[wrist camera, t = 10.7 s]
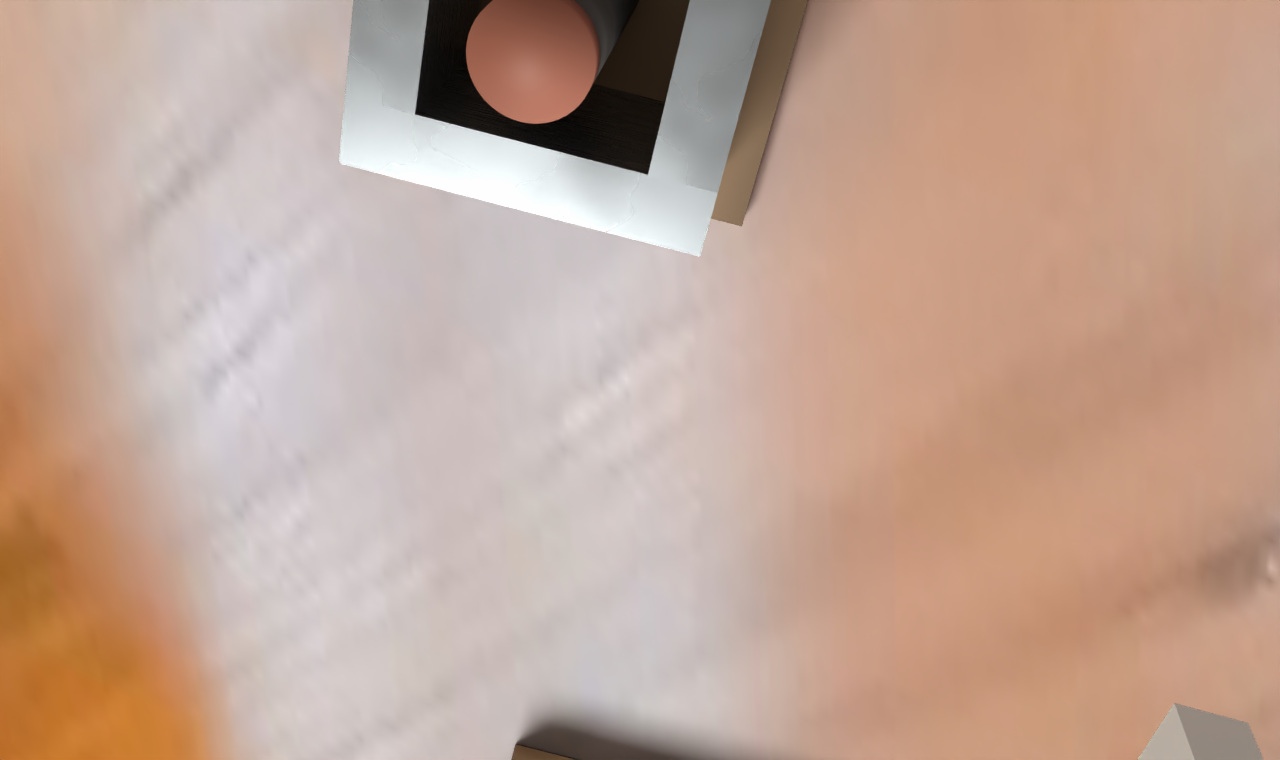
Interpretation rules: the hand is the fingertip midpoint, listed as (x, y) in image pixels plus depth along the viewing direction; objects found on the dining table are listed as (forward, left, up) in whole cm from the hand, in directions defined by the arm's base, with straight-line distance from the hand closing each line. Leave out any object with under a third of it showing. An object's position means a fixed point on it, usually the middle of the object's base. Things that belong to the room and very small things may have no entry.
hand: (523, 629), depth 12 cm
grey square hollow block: (+3, -2, -19) cm, 19 cm away
